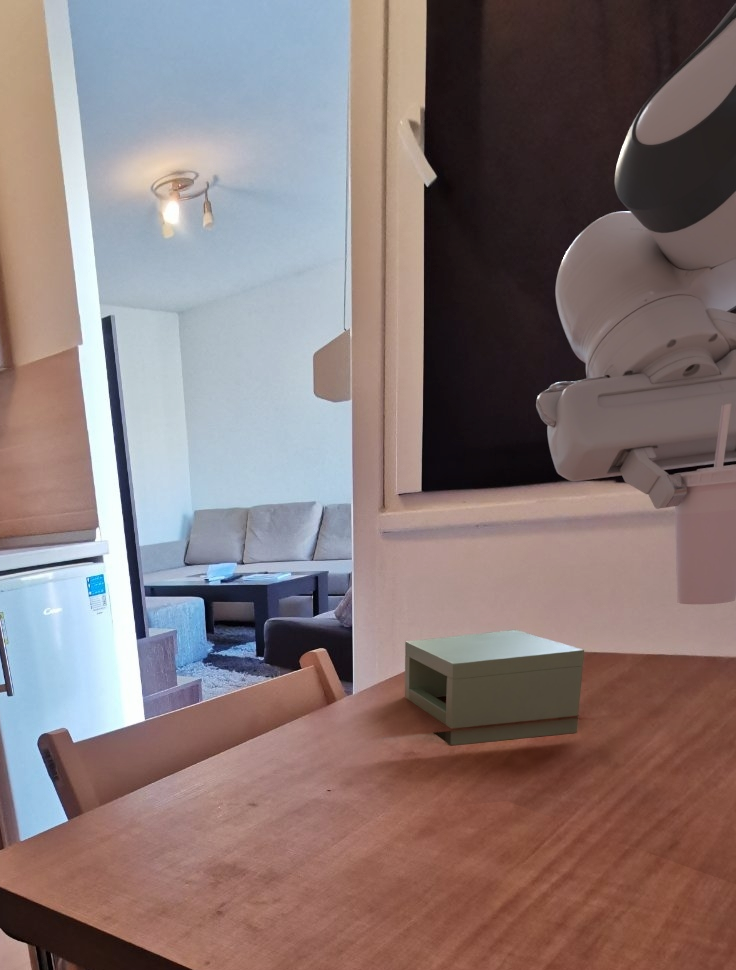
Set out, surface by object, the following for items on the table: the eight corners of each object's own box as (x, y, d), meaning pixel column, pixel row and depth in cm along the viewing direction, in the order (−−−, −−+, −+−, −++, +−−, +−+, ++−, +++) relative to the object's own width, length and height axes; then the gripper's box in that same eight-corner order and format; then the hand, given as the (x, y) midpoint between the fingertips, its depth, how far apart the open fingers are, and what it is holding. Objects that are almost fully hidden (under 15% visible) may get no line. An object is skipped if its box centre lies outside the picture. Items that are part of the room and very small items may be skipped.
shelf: (511, 700, 86) (515, 629, 83) (576, 733, 73) (584, 649, 70) (404, 711, 87) (405, 641, 84) (450, 745, 74) (453, 663, 71)
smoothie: (637, 604, 62) (657, 414, 57) (693, 593, 64) (717, 408, 59) (719, 609, 56) (748, 398, 51) (778, 596, 58) (811, 392, 53)
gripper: (544, 352, 60) (603, 479, 54) (812, 316, 59) (901, 441, 53) (516, 421, 66) (566, 542, 60) (760, 389, 65) (835, 509, 59)
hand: (726, 494), depth 57 cm, fingers closed on smoothie, 6 cm apart
